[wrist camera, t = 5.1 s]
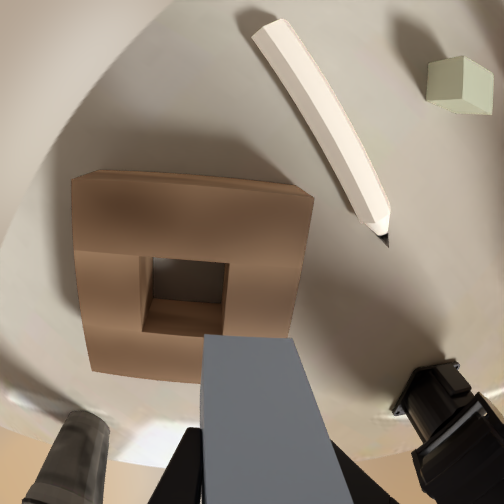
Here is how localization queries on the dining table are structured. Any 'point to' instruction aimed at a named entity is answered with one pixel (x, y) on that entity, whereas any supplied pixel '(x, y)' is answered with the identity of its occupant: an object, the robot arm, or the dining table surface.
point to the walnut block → (186, 248)
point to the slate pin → (263, 427)
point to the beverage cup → (74, 464)
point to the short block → (460, 86)
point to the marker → (326, 123)
